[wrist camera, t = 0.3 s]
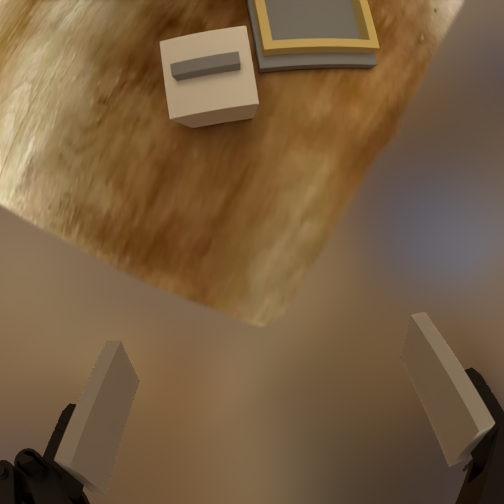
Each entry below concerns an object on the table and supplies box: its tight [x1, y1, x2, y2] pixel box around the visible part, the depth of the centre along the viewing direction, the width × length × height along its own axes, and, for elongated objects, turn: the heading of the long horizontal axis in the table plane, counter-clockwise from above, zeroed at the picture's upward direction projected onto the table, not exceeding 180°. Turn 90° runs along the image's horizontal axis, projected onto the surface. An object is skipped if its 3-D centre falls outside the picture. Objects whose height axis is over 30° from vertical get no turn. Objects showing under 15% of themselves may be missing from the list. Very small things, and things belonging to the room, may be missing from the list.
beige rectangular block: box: [160, 26, 259, 128], centre depth 25 cm, size 7×7×14 cm
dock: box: [246, 0, 379, 73], centre depth 26 cm, size 16×14×4 cm
